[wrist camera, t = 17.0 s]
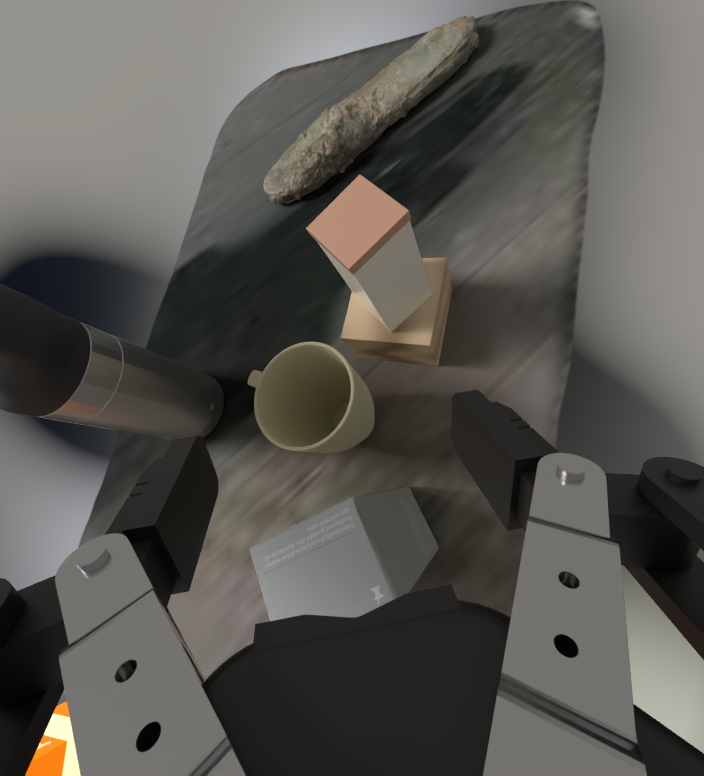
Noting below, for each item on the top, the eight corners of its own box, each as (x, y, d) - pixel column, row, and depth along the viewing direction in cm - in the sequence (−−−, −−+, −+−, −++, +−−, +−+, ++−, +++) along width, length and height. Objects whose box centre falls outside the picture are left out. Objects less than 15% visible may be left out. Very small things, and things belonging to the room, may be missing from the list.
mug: (377, 363, 40) (335, 315, 29) (404, 447, 36) (367, 428, 26) (293, 397, 43) (226, 364, 32) (311, 478, 39) (242, 473, 28)
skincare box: (409, 484, 35) (354, 479, 21) (445, 558, 32) (409, 609, 18) (337, 520, 37) (241, 537, 23) (365, 593, 34) (274, 665, 20)
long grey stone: (498, 64, 47) (453, 41, 52) (499, 13, 43) (450, -6, 47) (286, 224, 50) (262, 189, 55) (266, 194, 46) (241, 159, 50)
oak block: (360, 358, 41) (340, 338, 36) (376, 288, 43) (360, 259, 38) (438, 366, 38) (429, 345, 32) (452, 289, 39) (446, 257, 34)
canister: (391, 334, 34) (348, 268, 24) (357, 300, 36) (305, 228, 26) (433, 294, 33) (408, 210, 23) (397, 263, 36) (359, 174, 26)
